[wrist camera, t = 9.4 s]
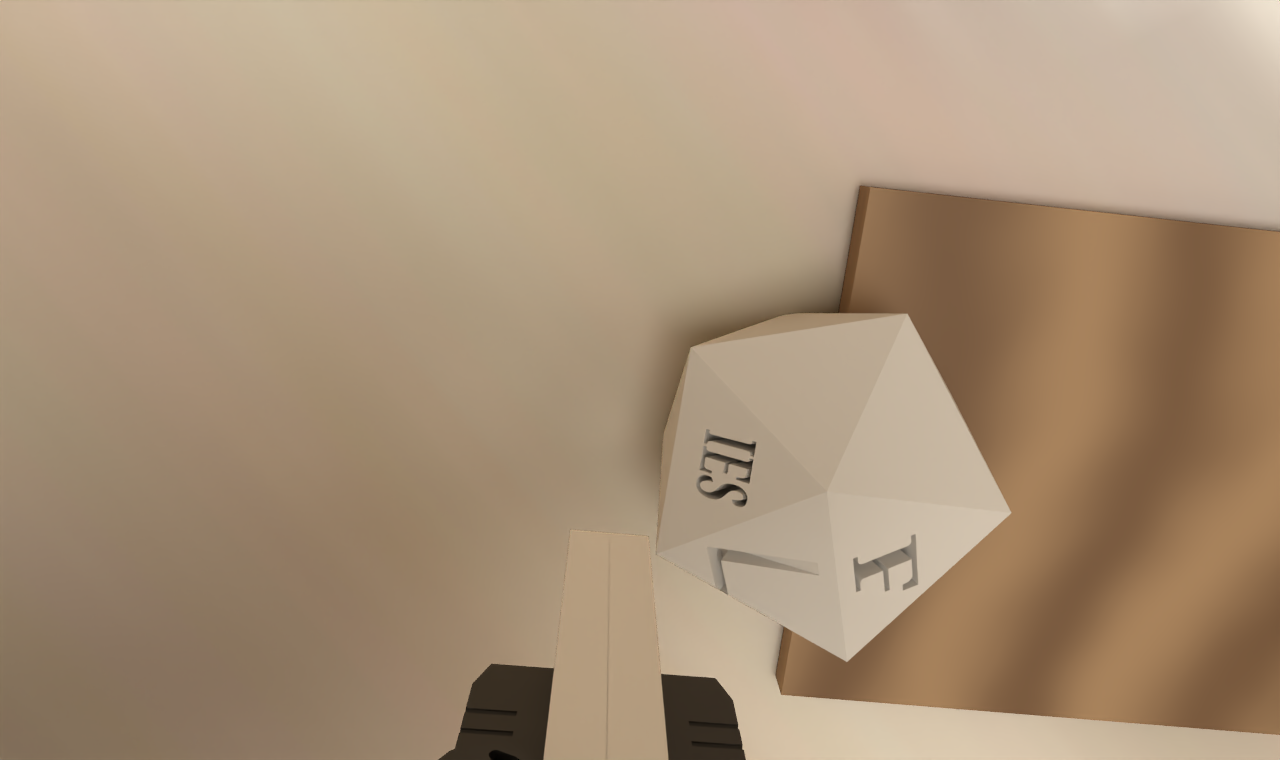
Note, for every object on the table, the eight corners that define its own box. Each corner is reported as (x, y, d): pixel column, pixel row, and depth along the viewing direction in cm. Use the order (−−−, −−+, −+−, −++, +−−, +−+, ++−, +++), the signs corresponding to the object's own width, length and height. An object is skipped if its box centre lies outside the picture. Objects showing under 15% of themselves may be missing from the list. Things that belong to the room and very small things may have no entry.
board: (775, 675, 27) (788, 719, 25) (860, 186, 23) (884, 189, 21) (1292, 717, 28) (1346, 763, 26) (1465, 252, 24) (1547, 262, 22)
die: (530, 394, 20) (946, 483, 14) (714, 246, 26) (1064, 266, 20) (607, 636, 24) (954, 781, 18) (751, 461, 30) (1049, 530, 24)
